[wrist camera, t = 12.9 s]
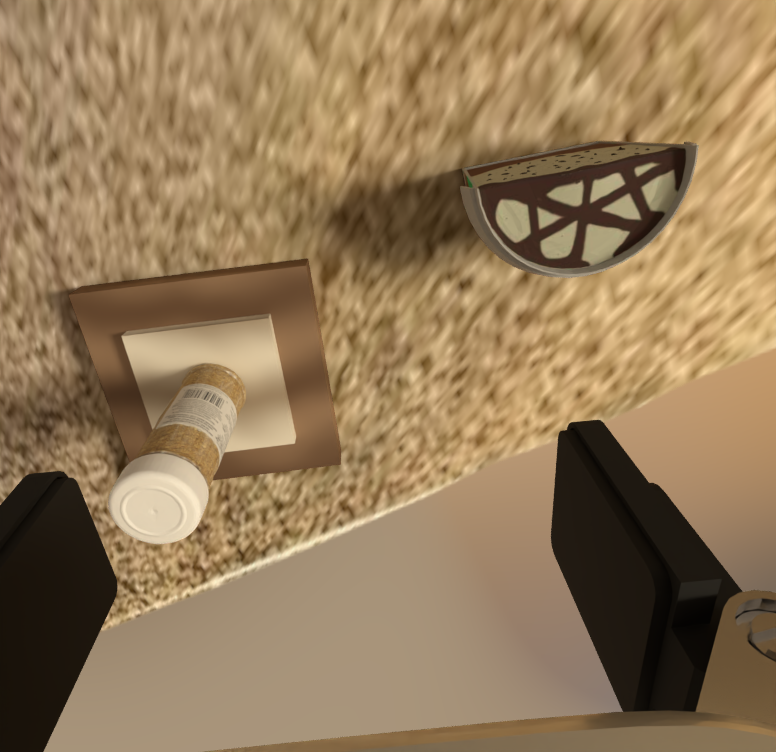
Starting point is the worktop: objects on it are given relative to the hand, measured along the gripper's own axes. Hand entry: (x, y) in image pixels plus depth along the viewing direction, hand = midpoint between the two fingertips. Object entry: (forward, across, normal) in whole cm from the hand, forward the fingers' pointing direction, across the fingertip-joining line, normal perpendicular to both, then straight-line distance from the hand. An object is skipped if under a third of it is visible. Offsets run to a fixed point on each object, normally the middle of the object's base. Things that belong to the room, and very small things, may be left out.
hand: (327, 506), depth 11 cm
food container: (+31, -13, 0) cm, 33 cm away
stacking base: (+30, +11, +11) cm, 34 cm away
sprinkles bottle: (+27, +10, +11) cm, 31 cm away
